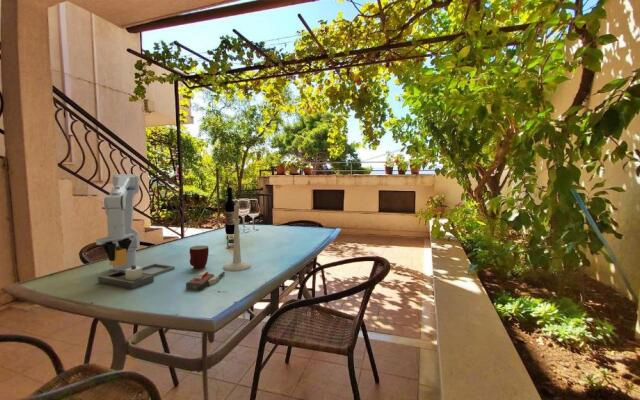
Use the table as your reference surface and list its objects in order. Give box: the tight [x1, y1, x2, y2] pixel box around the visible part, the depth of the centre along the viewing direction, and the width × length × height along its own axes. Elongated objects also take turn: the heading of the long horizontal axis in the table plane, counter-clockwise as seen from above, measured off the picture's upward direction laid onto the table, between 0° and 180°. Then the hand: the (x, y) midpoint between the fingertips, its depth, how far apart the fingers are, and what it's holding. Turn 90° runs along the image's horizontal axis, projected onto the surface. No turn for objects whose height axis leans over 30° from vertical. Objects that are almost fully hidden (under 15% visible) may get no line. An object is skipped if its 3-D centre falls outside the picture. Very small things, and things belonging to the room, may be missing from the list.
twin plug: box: [125, 265, 142, 280], centre depth 117 cm, size 4×4×7 cm
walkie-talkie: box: [185, 271, 226, 291], centre depth 121 cm, size 9×4×20 cm
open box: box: [97, 270, 155, 290], centre depth 119 cm, size 19×9×3 cm, turn 69°
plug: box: [109, 246, 127, 266], centre depth 120 cm, size 4×4×7 cm
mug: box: [189, 245, 210, 270], centre depth 137 cm, size 11×8×10 cm
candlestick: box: [222, 204, 252, 272], centre depth 141 cm, size 13×13×30 cm
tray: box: [141, 263, 176, 277], centre depth 133 cm, size 12×12×2 cm
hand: (117, 259), depth 120 cm, fingers closed on plug, 4 cm apart
